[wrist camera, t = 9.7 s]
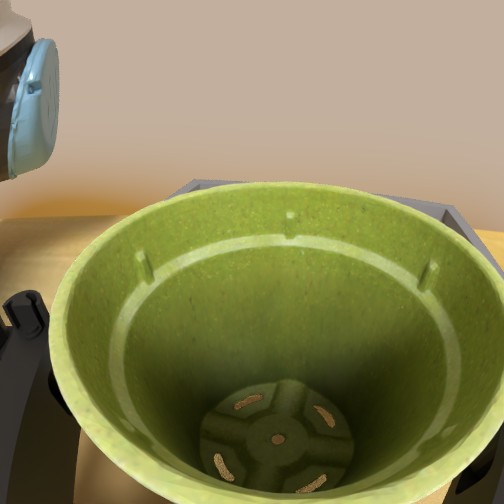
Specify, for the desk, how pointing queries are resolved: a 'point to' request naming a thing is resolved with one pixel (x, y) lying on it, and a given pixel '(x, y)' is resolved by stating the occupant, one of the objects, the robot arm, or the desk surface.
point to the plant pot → (282, 346)
